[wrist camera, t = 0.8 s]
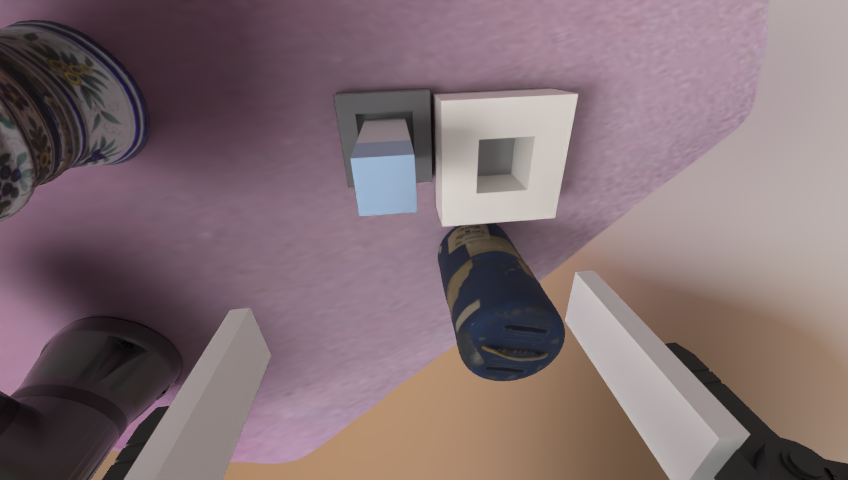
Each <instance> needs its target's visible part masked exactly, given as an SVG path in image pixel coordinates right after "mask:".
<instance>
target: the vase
mask: <svg viewBox="0 0 848 480" xmlns="http://www.w3.org/2000/svg"><path fill="white" fill-rule="evenodd" d="M148 135H149V116H148V112H147V108H146V104H145V101H144V98H143V96H142V93H141V91H140V89H139V87H138V85H137V84H136V82H135V81H134V79H133V78H132V76H131V75H130V74H129V72H128V71H127V70H126V69H125V67H124V66H123V65H122V64H121V63H120V62H119V61H118V60H117V59H116V58H115V57H114V56H112V55H111V54H110V53H109V52H108V51H106V50H105V49H104V48H103V47H101V46H100V45H99V44H97V43H96V42H95V41H93V40H92V39H91V38H89V37H88V36H86V35H85V34H83V33H81V32H79V31H77V30H74V29H72V28H69V27H67V26H64V25H61V24H58V23H55V22H50V21H37V20H30V21H21V22H17V23H14V24H12V25H9V26H7V27H5V28H2V29H0V221H2V220H4V219H6V218H9V217H11V216H12V215H14V214H15V213H17V212H18V211H19V210H20V209H21V208H22V207H23V206H24V205H25V204H26V203H27V202H28V200H29V199H30V197H31V196H32V194H33V192H34V188H36V187H37V186H38V185H42V184H45V183H47V182H50V181H52V180H54V179H55V178H57V177H58V176H60V175H61V174H62V173H63V172H64V171H65V170H67V169H69V168H74V167H82V166H94V165H114V164H119V163H123V162H125V161H128V160H130V159H131V158H133V157H134V156H136V155H137V154H138V153H139V152H140V151H141V150H142V148H143V147H144V146H145V144H146V141H147V139H148Z"/></svg>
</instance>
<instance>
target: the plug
mask: <svg viewBox="0 0 848 480" xmlns="http://www.w3.org/2000/svg"><path fill="white" fill-rule="evenodd" d="M350 159H351V166H352V172H353V179H354V185H355V192H356V198H357V205H358V211H359V216H371V215H385V214H398V213H412V212H417V196H416V176H415V157H414V151H413V147H412V144H411V140H410V136H409V132H408V128H407V124H406V121H405V118H390V119H371V120H365V121H364V123H363V126H362V129H361V131H360V134H359V137H358V139H357V142H356V145H355V148H354V150H353V153H352V156H351V158H350Z"/></svg>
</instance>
